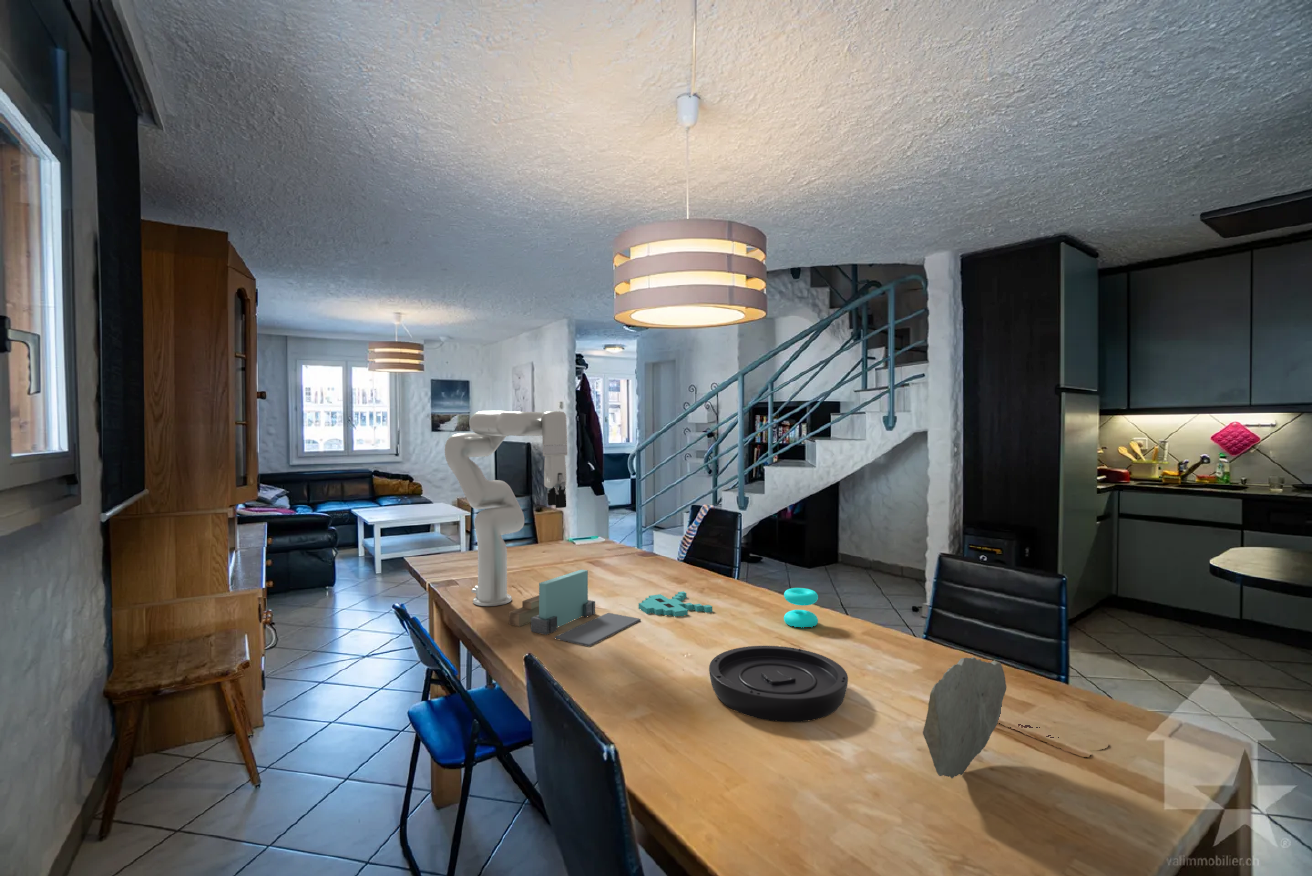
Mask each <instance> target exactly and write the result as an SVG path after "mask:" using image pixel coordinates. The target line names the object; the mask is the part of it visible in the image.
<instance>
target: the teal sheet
mask: <svg viewBox="0 0 1312 876" xmlns="http://www.w3.org/2000/svg"><path fill="white" fill-rule="evenodd" d="M588 575H589V570H587V569H579V570H575V571H572V572H570V573H566V574H564V575H559V576H556V577H554V578H550V579H548V580H544V581H541V582H539V583H538V585H539V586H538V595H539V618H543V619H548V618H550V617H553V616H556V617H557V628H559V627H558V626H560V627H562V626H564V625H566V623H567V624H569V623H571V622H573V621H572V620H574V619H576V620H578V619H580V618H579V617H581V616H583V604H585V603H587V602H588V600H589V598H588V597H589V595H588V594H589V587H588V585H589V579H588V578H589V576H588ZM577 618H578V619H577ZM581 618H582V617H581ZM570 621H571V622H570ZM574 621H575V620H574ZM568 622H569V623H568Z"/></svg>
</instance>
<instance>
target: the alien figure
mask: <svg viewBox="0 0 1312 876" xmlns="http://www.w3.org/2000/svg"><path fill="white" fill-rule="evenodd" d="M685 599H687V592H686V591H684V590H683V591H677V593H676V594H674V596H672V597H671V598H668V597H667V596H664V595H663V594H661V593H660V594H652V595H648V597H645V599H644V600H641V602H638V609H639V610H640V609H641V610H640V611H642V612H643V613H644V614H647V615H650V613H651V614H654V615H655V616H660V615H663V616H665V615H671V616H672V615H673V617H674V616H675V617H674V618H677V617H676V616H681V617H685V616H684V615H689V611H688V610H690V611H694V610H695V612H696V613H697V612H703V613H707V614H708V613H713V606H712V605H710V604H703V605H702V604H701V603H691V602H686V603H684V602H682V601H685Z"/></svg>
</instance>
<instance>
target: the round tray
mask: <svg viewBox="0 0 1312 876" xmlns="http://www.w3.org/2000/svg"><path fill="white" fill-rule="evenodd" d="M708 671H709V673H708V674H709V678H710V683H711V686H712V689H713V691H714V694H715V695H716V697H717V698H718V699H719V700H720V702H722V703H723V704H724V705H725V706H726V707H728V708H729V709H731V710H733V711H735V712H738V713H739V714H742V715H745V716H747V717H751V718H755V719H758V720H764V721H768V722H769V721H770V722H780V723H781V722H782V723H801V721H802V722H808V720H810V721H814V719H815V720H819V719H822V718H825V717H828V716H829V715H831V714H833V713H834V712H835V711H836V710H837V709H838V708H840V706H841V705H842V704H843V702H844V700H845V697H846V694H847V690H848V684H849V683H848V682H849V676H848V673H847V671H846V670H845V668H844V667H843V666H842V665H840V664H839V663H838V662H837V661H834V659H831V658H829V657H827V656H824V655H822V654H820V653H816V652H813V651H809V650H806V649H801V648H797V647H796V648H795V647H788V646H779V645H751V646H750V645H749V646H743V647H737V648H733V649H729V650H726V651H724V652H721V653H720V654H718V655H716V656H715V657H714V658H712V659H711V661H710V663H709V665H708ZM818 718H819V719H818Z"/></svg>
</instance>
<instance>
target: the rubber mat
mask: <svg viewBox="0 0 1312 876" xmlns="http://www.w3.org/2000/svg"><path fill="white" fill-rule="evenodd" d="M639 622H641V618H639V617H638V618H637V617H632V616H626V615H622V614H617V613H611V612H606V613H605V614H602V615H600V616H598V617H595V618H593V619H591V620H589V621H586V622H585V623H583V624H579V625H578V626H576V627H573V628H570V629H568V630H567V631H566V630H565V631H564V632H562V633H560V634H557V635H556V636H554V639H555V638H556V639H555V640H557V639H560V640H559V641H562V640H563V642H566V641H568V642H567V643H572V644H575V645H580V646H584V647H588V646H590V647H592V646H594V645H595V644H598V643H599V641H600V642H601V640H602V641H603V639H604V640H605V638H606V637H608V636H610V637H611V636H614V635H615V634H617V633H619V632H621V631H623V630H625V629H627V628H629V627H631V626H634V625H635V624H636V623H639ZM628 626H629V627H628ZM626 627H627V628H626ZM624 628H625V629H624ZM622 629H623V630H622ZM620 630H621V631H620ZM608 638H609V637H608ZM606 639H607V638H606Z"/></svg>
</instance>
